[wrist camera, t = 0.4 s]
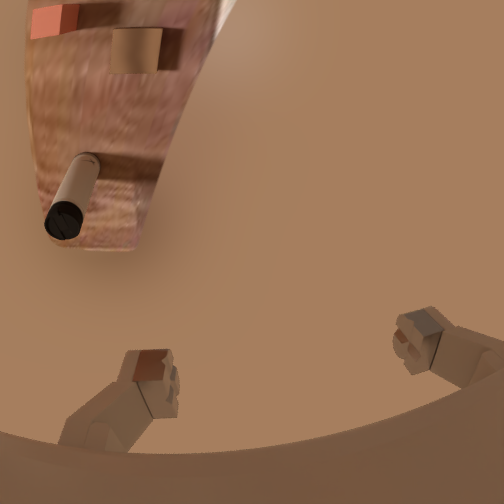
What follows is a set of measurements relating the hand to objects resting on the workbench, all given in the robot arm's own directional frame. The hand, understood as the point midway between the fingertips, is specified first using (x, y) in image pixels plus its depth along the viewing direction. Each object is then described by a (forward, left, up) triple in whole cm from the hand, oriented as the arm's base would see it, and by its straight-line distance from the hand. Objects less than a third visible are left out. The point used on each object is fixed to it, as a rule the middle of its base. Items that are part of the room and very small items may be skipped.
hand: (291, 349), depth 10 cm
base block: (-9, -5, -52) cm, 53 cm away
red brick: (-24, -9, -52) cm, 58 cm away
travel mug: (-1, -29, -52) cm, 59 cm away
